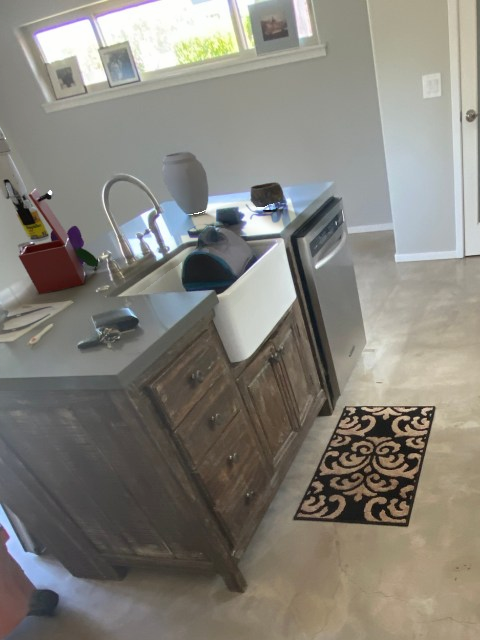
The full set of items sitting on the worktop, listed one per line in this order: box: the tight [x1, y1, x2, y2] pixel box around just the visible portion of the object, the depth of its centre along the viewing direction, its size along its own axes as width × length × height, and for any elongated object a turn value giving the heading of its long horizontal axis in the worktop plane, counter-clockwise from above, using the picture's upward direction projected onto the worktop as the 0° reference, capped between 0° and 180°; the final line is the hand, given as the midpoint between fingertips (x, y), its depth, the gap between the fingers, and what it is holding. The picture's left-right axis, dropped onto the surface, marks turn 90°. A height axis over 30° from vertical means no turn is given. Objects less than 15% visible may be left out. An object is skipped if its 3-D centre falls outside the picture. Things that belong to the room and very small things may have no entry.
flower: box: [50, 225, 99, 269], centre depth 193 cm, size 15×15×14 cm
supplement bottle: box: [15, 199, 50, 243], centre depth 153 cm, size 6×6×10 cm
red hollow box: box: [18, 238, 86, 295], centre depth 180 cm, size 15×14×12 cm
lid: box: [28, 187, 68, 245], centre depth 172 cm, size 15×14×5 cm
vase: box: [161, 151, 209, 217], centre depth 241 cm, size 20×20×24 cm
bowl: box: [249, 181, 285, 208], centre depth 234 cm, size 14×15×10 cm
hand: (31, 221), depth 153 cm, fingers closed on supplement bottle, 5 cm apart
